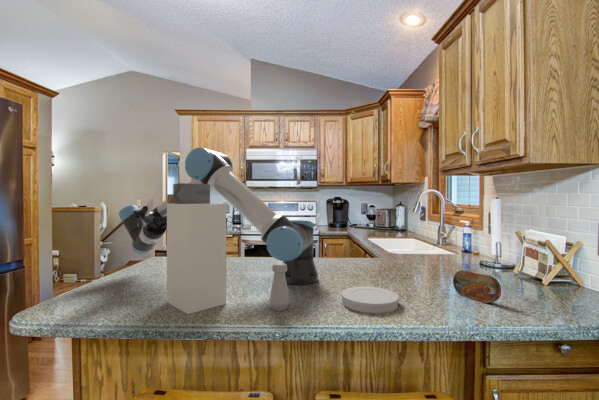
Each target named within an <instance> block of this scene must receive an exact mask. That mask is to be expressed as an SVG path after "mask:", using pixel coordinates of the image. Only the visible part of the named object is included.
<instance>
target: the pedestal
mask: <svg viewBox="0 0 599 400" xmlns="http://www.w3.org/2000/svg"><path fill="white" fill-rule="evenodd" d="M166 303H167V304H169V305H171V306H172V307H174V308H176V309H178V310H180V311H181V312H183V313H185V314H186V315H190V314H194V313H197V312H202V311H205V310H208V309H212V308H216V307H220V306H224V305H227V203H210V204H167V229H166Z"/></svg>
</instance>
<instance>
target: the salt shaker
mask: <svg viewBox="0 0 599 400" xmlns="http://www.w3.org/2000/svg"><path fill="white" fill-rule="evenodd" d="M271 269H272V272H273V279H272V285H271V291H270V296H269V304H270V306H271V309H272V310H273V311H275V312H283V311H286V310H287V309H288V307H289V304H290V302H291V299H290V294H289V293H290V292H289V289H288V288H289V287H288V284H287V282H286V276H285V272H286V271H287V265H286V264H285V263H283V262H276V263H274V264H272V267H271Z"/></svg>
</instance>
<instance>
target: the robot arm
mask: <svg viewBox="0 0 599 400" xmlns="http://www.w3.org/2000/svg"><path fill="white" fill-rule="evenodd" d="M184 164H185V166H184V170H185V172H186V174H187V175H188V177H190V178H191V179H192V180H190V181H188V182H187V184H210V191H212V190H215V191H216V192H217V193H218V194H219V195H220V196H221V197H222V198H223V199H224V200H226V202H228V203H229V204H230V206H232V207H233V208H234V209H235V210H236V211H238V212H237V213H239V214H241V216H242V217H243V218H244V219H245V220H246V221H247V222H249V224H250V225H252V226H253V228H255V229H256V230H257V231H258V232H259V233H260V239H261V241H262V242H263V243H264V244H265V245H266V249H267V251H268V253H269V255H270V256H271V257H272V258H274V259H275V260H277V261H280V262H282V263H285V264H286V265H287V271H286V272H285V276H286V282H287V285H309V284H312V283H317V281H318V280H319V274H318V273H319V272H318V271H317V267H316V265H315V261H314V232H315V229H314V223H313V222H312V221H310V220H299V219H297V220H296V219H288V218H287V217H286V216H285V214H284V215H278V214H277V213H276V212H274V210H272V209H271V208H270V207H269V206H268V205H267V204H266V203H265V202H264V201H263V200H261V198H259V196H257V194H255V193H254V192H253V191H252V190H251V189H250V188H248V186H247V185H245V184H244V183H243V181H241V180H240V179H239V178H238V177H237V176H236V175H235V174H234V173H233V163H232V160H231V159H230V157H229V156H228V155H227V154H225V153H223V152H219V151H217V150H216V151H215V150H213V149H209V148H208V147H195V148H194V149H192V150H190V152H189V153H187V156H186V158H185V161H184ZM167 204H173V203H167V198H166V199H165V200H164V201H162V202H161V203H160V204H159V205H157V206H155V204H154V201H153V199H152V198H150V199H149V200H148V201H147V204H146V205H143V206H142V208H139V207H138V205H135V204H129V205H126V206H125V207H123V208H122V209H121V210H120V211H119V212H118V216H119V218H120V221H121V223H123V226H124V228H125V229H126V231H127V234H129V237H130V238H131V240H132V241H131V242H132V243H131V248H132V251H133V252H134V253H136V254H138V255H146V254H148V253H149V252H151V251H152V250H153V249H154V247H155V246H156V245H157V243H158V242H159V240H160V239H161V238H162V237H163V235H164V234H165V233H166V232H167Z"/></svg>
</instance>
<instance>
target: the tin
mask: <svg viewBox="0 0 599 400" xmlns="http://www.w3.org/2000/svg"><path fill="white" fill-rule="evenodd" d="M452 285H453V287H454V289H455V291H456V293H458V295H459V296H462V297H464V298H467V299H471V300H473V301H477V302H479V303H484V304H490V303H494V302H497V301H498V300H499V299H500V298H501V296H502V295H501V294H502V287H501V284H500V282H499V281H498V280H497V279H496V278H495V277H494V276H492V275H489V274H485V273H480V272H476V271H471V270H462V269H461V270H459V271H457V272H455V274H454V275H453V280H452Z"/></svg>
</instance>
